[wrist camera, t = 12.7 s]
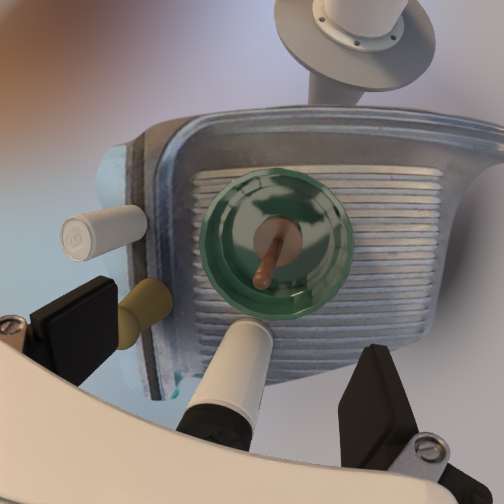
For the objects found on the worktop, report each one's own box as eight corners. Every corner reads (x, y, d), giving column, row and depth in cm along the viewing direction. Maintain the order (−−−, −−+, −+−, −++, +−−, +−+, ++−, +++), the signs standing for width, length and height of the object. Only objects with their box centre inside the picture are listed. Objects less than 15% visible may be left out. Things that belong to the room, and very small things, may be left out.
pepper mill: (149, 269, 38) (102, 298, 28) (181, 301, 38) (142, 340, 28) (128, 296, 40) (82, 328, 29) (157, 326, 40) (118, 366, 29)
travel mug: (216, 338, 39) (155, 446, 20) (247, 307, 37) (195, 418, 18) (251, 366, 39) (213, 483, 20) (283, 337, 37) (263, 460, 18)
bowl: (227, 160, 33) (212, 156, 27) (357, 187, 32) (369, 188, 26) (207, 282, 37) (191, 300, 31) (326, 310, 35) (329, 333, 30)
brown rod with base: (261, 211, 33) (227, 234, 18) (306, 221, 33) (311, 253, 18) (252, 255, 34) (214, 310, 20) (296, 265, 34) (291, 328, 19)
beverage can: (155, 231, 37) (98, 253, 25) (128, 245, 38) (70, 269, 26) (140, 198, 36) (80, 207, 25) (114, 213, 37) (53, 227, 26)
